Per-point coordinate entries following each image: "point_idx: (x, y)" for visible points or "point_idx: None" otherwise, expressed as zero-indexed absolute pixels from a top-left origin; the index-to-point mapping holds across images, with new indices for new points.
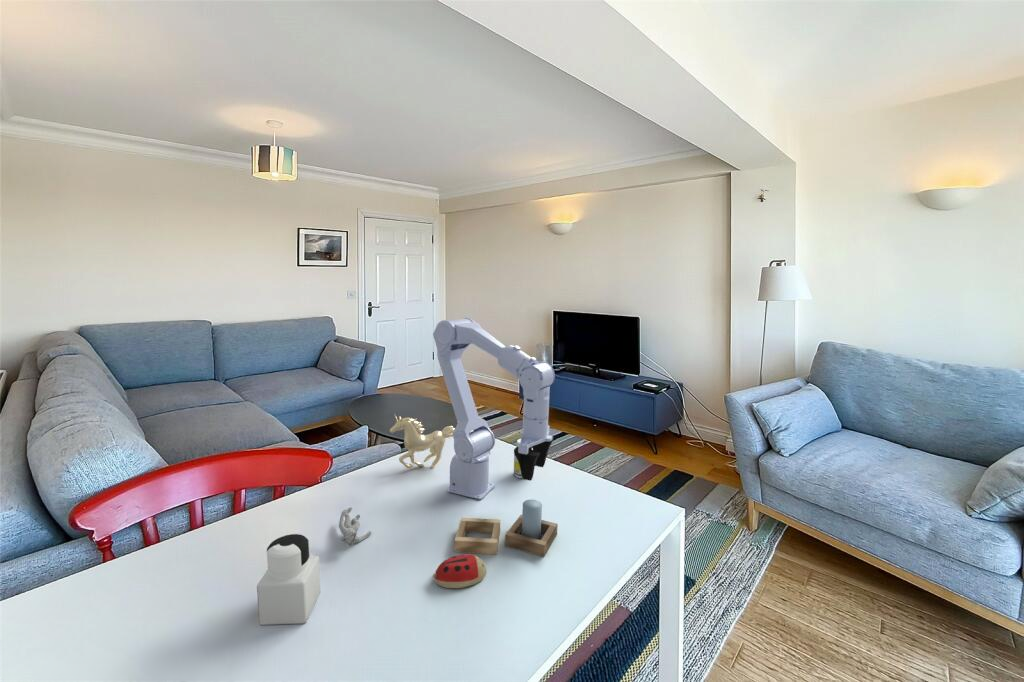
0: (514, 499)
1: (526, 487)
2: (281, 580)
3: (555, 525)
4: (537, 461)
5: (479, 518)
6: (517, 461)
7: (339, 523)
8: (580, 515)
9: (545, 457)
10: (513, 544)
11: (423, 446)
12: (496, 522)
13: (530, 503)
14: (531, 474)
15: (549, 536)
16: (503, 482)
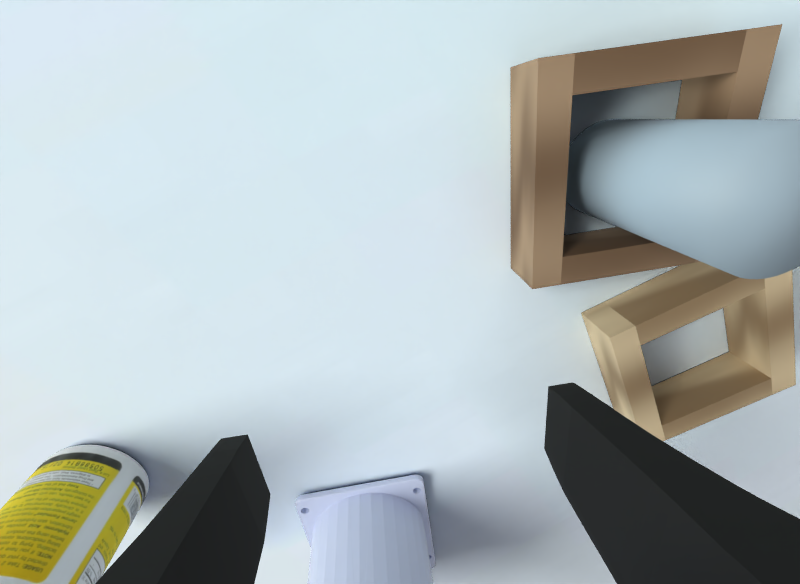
0: (331, 392)
1: (196, 408)
2: None
3: (560, 63)
4: (250, 525)
5: (629, 402)
6: (101, 565)
7: None
8: (238, 21)
9: (183, 533)
10: None
11: None
12: (637, 338)
13: (775, 225)
14: (629, 424)
15: (689, 40)
16: None
